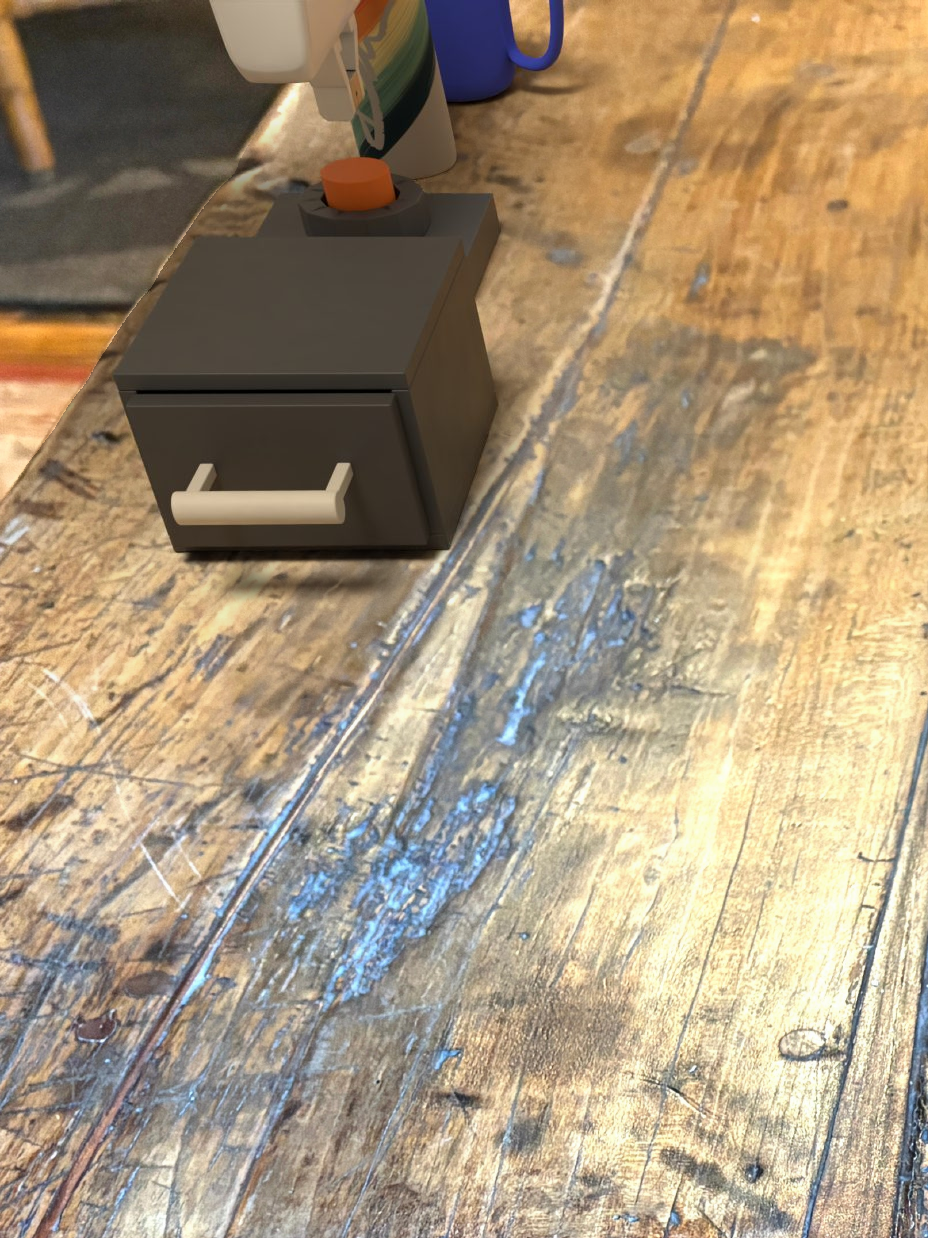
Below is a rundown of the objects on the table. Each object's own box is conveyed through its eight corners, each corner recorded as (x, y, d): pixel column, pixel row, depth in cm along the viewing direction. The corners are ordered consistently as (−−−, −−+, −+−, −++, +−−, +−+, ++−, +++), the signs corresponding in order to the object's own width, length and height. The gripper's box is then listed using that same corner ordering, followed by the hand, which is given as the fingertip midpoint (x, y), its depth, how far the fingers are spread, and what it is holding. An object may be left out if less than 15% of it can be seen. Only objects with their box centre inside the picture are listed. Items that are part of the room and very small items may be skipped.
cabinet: (448, 549, 104) (404, 372, 98) (173, 552, 104) (111, 373, 97) (498, 405, 114) (461, 236, 108) (248, 406, 114) (196, 236, 107)
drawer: (409, 593, 100) (371, 450, 95) (149, 595, 99) (97, 452, 94) (475, 409, 112) (444, 274, 107) (244, 410, 111) (202, 274, 107)
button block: (248, 306, 122) (226, 232, 119) (290, 231, 128) (270, 159, 126) (472, 306, 122) (455, 232, 119) (501, 231, 129) (486, 160, 126)
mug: (556, 123, 141) (524, -52, 133) (377, 105, 142) (335, -69, 135) (605, 77, 146) (577, -93, 139) (431, 60, 147) (395, -110, 140)
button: (322, 215, 121) (313, 182, 120) (336, 189, 124) (327, 156, 123) (389, 215, 122) (381, 182, 120) (401, 189, 124) (394, 157, 123)
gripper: (254, -243, 116) (326, 42, 126) (147, -123, 102) (238, 186, 112) (377, -241, 117) (439, 42, 127) (287, -122, 103) (365, 186, 113)
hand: (344, 111), depth 119 cm, fingers closed
